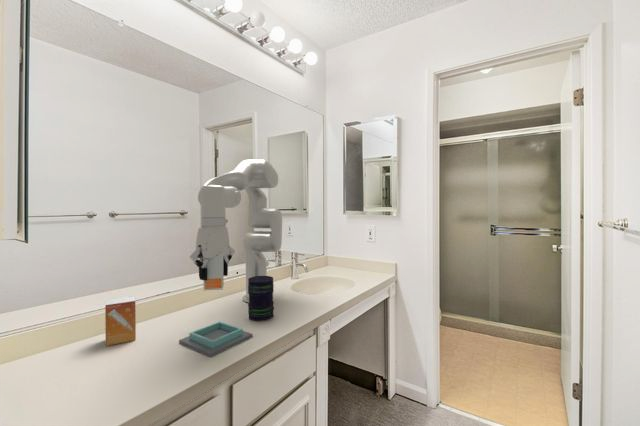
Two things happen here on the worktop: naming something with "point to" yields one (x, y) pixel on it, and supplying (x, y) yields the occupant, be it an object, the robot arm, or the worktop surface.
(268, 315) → the storage jar
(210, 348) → the tray
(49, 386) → the worktop surface
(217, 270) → the skincare box
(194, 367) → the worktop surface
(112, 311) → the small box
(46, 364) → the worktop surface
